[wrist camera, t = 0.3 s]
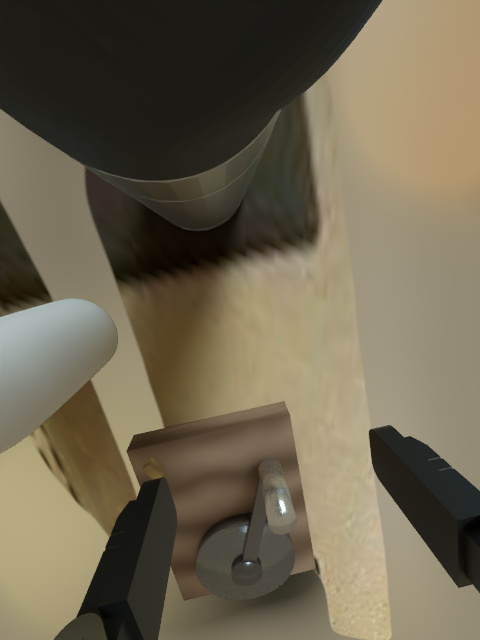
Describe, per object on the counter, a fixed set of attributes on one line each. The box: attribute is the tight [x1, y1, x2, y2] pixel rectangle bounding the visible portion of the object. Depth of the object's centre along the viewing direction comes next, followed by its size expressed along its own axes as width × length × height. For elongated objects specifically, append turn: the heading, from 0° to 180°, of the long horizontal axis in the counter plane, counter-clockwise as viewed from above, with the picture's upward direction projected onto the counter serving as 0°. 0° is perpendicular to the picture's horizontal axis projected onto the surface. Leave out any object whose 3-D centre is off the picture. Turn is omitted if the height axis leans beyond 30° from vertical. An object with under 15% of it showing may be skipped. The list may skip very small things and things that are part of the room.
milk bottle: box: [0, 299, 118, 453], centre depth 16 cm, size 8×8×20 cm
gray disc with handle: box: [196, 459, 297, 600], centre depth 27 cm, size 22×12×8 cm, turn 171°
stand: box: [127, 402, 316, 600], centre depth 31 cm, size 24×18×4 cm
